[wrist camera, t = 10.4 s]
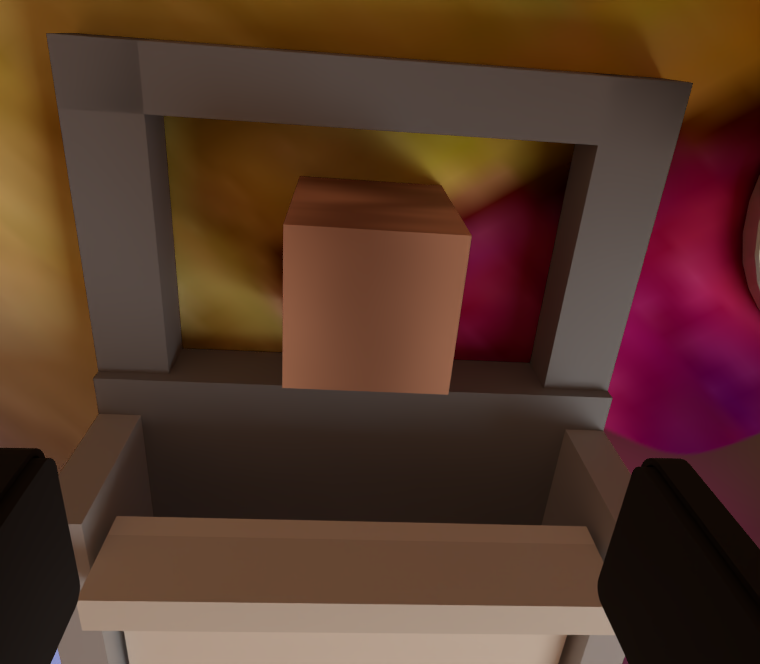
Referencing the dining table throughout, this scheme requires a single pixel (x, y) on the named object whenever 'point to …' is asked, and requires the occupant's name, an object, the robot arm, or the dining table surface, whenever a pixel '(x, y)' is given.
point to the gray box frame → (264, 369)
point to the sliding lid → (342, 591)
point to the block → (371, 286)
